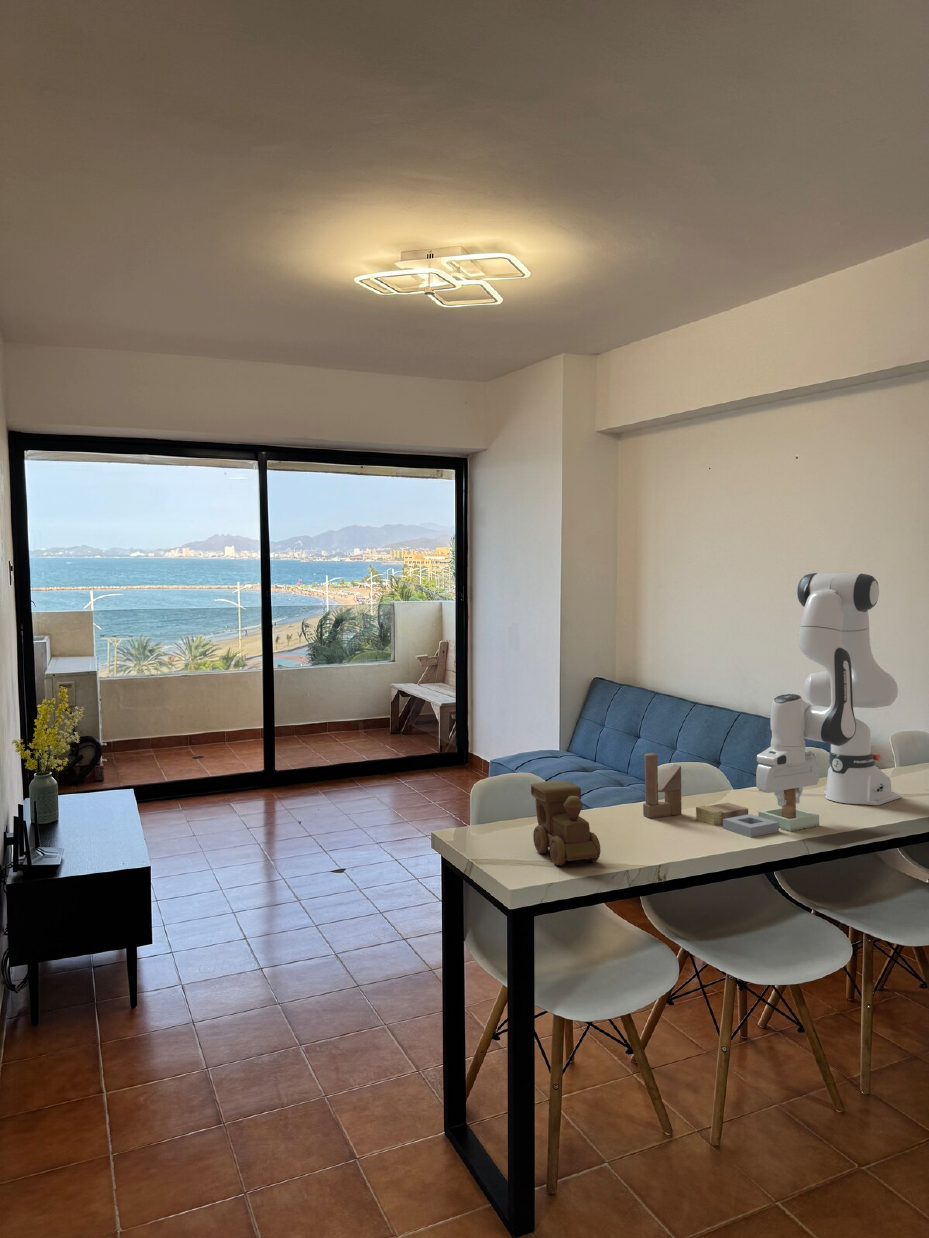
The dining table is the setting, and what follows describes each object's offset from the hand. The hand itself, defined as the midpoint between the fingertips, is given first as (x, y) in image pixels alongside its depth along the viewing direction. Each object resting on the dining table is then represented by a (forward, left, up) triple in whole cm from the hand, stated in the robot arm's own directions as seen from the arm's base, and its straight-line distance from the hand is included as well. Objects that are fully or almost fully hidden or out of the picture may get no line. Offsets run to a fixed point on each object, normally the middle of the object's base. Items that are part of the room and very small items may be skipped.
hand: (788, 804), depth 233 cm
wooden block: (+23, -25, -6) cm, 34 cm away
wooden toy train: (+68, -7, -6) cm, 69 cm away
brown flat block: (+10, -13, -6) cm, 18 cm away
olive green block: (+17, -13, -5) cm, 22 cm away
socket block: (+13, -1, -5) cm, 14 cm away
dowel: (0, 0, -4) cm, 4 cm away
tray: (0, 0, -5) cm, 5 cm away
